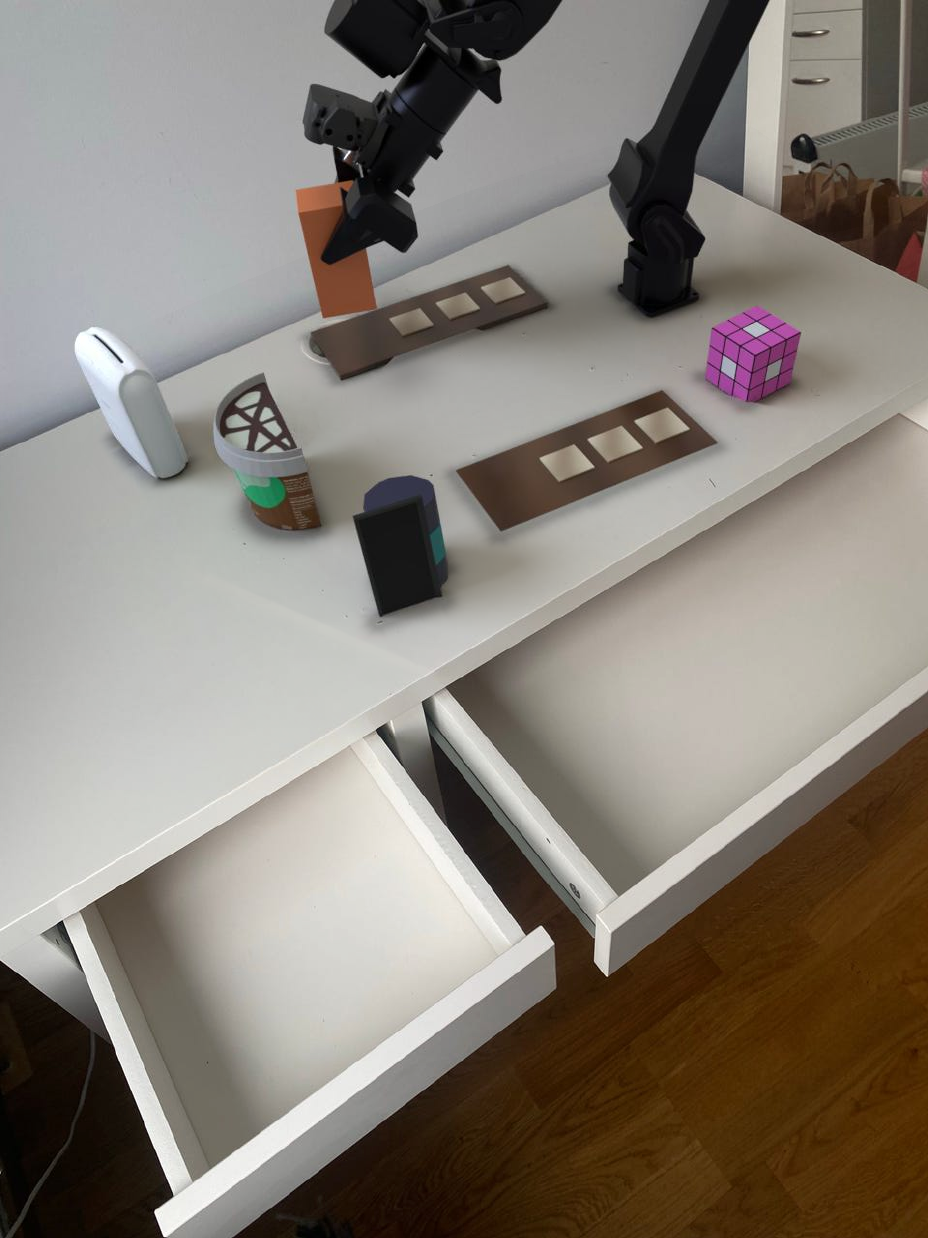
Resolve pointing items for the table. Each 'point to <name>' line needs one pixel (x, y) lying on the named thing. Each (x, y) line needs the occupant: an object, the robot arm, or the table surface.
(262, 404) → the food container
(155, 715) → the table surface
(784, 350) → the puzzle toy
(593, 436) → the word board
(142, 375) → the photo printer
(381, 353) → the word board
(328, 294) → the tall orange brick
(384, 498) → the speaker
